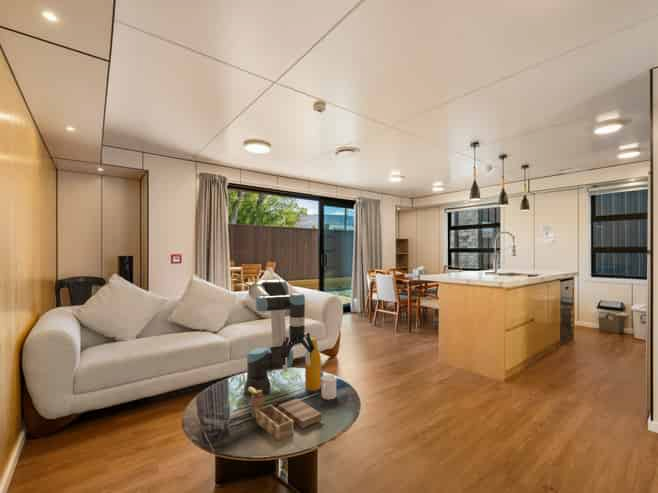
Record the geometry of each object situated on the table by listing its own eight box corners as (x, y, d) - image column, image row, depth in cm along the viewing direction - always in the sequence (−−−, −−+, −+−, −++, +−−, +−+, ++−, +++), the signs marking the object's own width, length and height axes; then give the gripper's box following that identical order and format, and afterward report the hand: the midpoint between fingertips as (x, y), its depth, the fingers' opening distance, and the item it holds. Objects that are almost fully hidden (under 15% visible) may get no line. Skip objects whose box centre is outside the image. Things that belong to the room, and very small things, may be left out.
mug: (329, 404, 168) (329, 384, 169) (315, 401, 172) (315, 381, 172) (338, 394, 179) (338, 376, 179) (325, 392, 183) (325, 374, 183)
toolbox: (248, 416, 156) (248, 393, 156) (263, 410, 161) (263, 388, 161) (277, 441, 135) (277, 414, 135) (293, 434, 140) (293, 408, 140)
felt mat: (276, 412, 159) (276, 412, 159) (296, 405, 167) (296, 404, 167) (303, 433, 141) (303, 432, 141) (324, 423, 149) (324, 423, 149)
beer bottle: (302, 388, 188) (301, 339, 189) (312, 383, 196) (312, 335, 196) (314, 392, 183) (313, 341, 183) (324, 387, 190) (323, 338, 191)
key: (248, 390, 164) (248, 385, 164) (251, 389, 165) (251, 384, 165) (258, 397, 155) (258, 392, 155) (261, 396, 157) (261, 390, 157)
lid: (278, 412, 158) (278, 404, 159) (297, 406, 165) (297, 398, 166) (302, 430, 143) (302, 421, 143) (321, 422, 150) (321, 413, 150)
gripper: (279, 330, 147) (278, 376, 147) (321, 322, 163) (321, 364, 163) (270, 327, 153) (270, 371, 153) (312, 319, 169) (312, 360, 169)
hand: (296, 367), depth 158 cm, fingers open, 13 cm apart
